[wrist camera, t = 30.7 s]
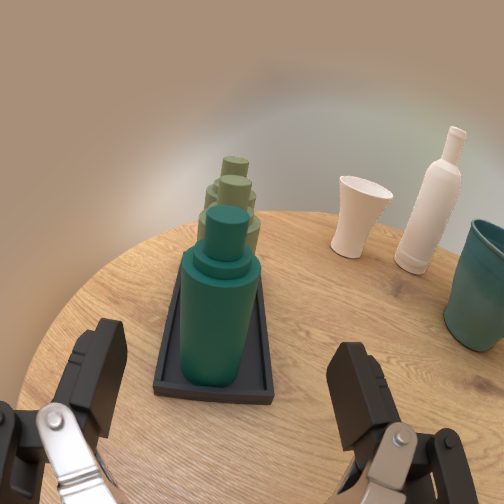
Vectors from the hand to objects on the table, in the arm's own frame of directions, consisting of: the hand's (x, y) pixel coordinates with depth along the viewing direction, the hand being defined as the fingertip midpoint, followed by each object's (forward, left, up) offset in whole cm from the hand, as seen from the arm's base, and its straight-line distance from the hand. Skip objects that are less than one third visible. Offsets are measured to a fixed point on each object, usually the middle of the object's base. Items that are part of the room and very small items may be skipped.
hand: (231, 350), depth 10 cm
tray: (-3, +19, -18) cm, 26 cm away
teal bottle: (-2, +12, -17) cm, 21 cm away
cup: (+17, +45, -18) cm, 51 cm away
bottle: (+32, +45, -18) cm, 58 cm away
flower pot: (+39, +26, -18) cm, 50 cm away
